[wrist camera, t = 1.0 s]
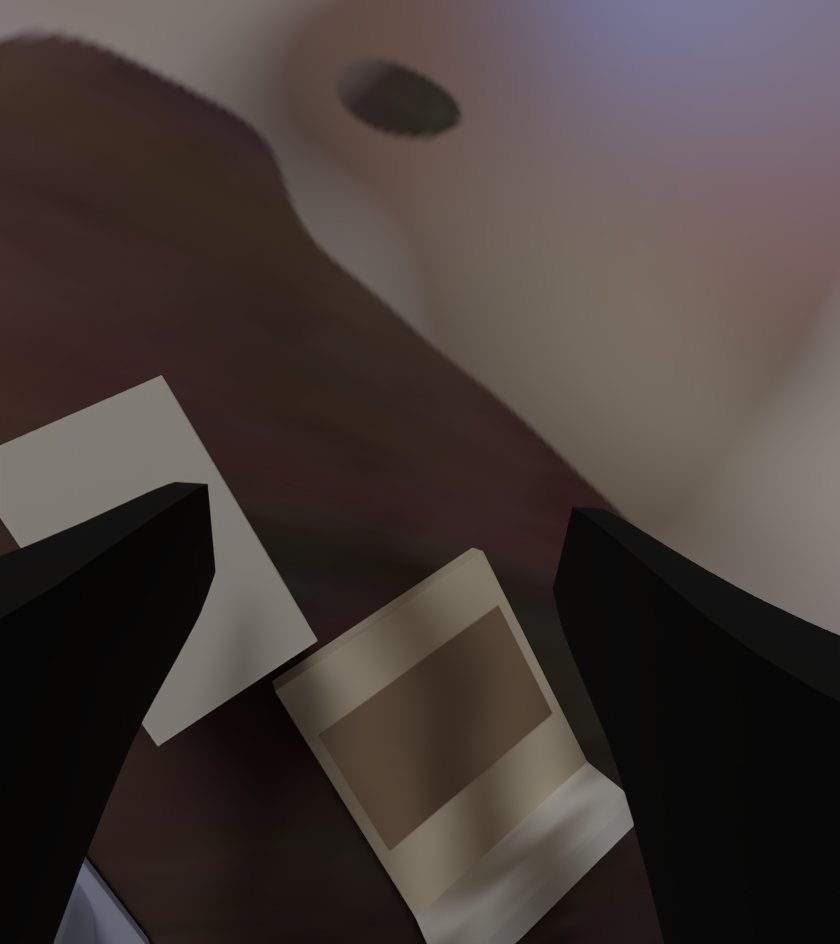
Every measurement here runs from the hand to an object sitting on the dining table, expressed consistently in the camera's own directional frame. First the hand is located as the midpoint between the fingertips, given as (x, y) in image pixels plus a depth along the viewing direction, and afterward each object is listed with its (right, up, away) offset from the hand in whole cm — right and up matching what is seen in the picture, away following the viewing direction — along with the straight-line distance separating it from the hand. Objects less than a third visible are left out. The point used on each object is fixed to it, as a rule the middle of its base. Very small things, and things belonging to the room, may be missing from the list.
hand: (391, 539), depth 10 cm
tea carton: (-8, -1, +9) cm, 12 cm away
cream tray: (+2, -10, +13) cm, 17 cm away
